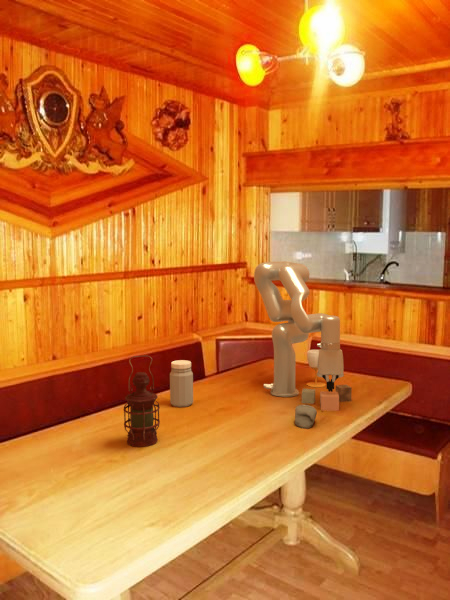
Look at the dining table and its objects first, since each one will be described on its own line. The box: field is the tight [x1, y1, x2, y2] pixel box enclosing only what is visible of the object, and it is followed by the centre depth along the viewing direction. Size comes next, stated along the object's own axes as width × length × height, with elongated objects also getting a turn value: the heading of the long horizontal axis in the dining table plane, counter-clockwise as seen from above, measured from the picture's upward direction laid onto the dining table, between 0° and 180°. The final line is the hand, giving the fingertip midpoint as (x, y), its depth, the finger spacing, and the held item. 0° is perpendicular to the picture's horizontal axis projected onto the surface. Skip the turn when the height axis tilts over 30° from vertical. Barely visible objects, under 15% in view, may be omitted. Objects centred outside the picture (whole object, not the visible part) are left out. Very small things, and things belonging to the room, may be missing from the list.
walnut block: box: [335, 384, 352, 403], centre depth 241 cm, size 5×5×6 cm
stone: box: [294, 404, 318, 430], centre depth 211 cm, size 9×9×10 cm
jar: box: [169, 359, 194, 408], centre depth 235 cm, size 10×10×18 cm
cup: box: [306, 349, 326, 388], centre depth 265 cm, size 9×9×16 cm
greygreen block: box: [301, 388, 316, 405], centre depth 238 cm, size 5×5×5 cm
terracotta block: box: [319, 390, 340, 412], centre depth 229 cm, size 7×7×6 cm
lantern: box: [123, 354, 161, 448], centre depth 191 cm, size 12×12×30 cm
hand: (330, 390), depth 229 cm, fingers closed
